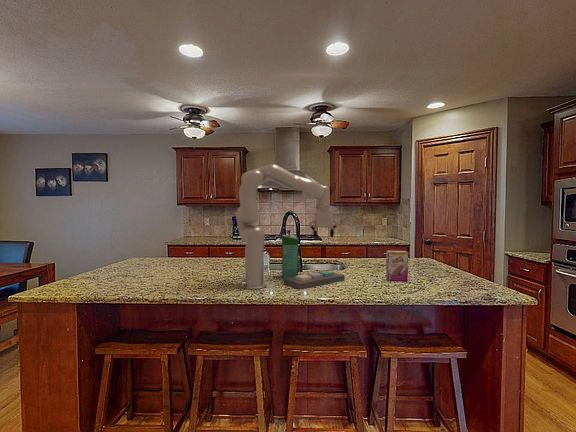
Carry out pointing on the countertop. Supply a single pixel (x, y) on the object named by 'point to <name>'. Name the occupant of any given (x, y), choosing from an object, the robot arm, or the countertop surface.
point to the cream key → (303, 277)
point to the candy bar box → (397, 266)
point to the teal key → (326, 273)
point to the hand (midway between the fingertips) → (323, 237)
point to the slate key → (315, 275)
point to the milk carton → (289, 256)
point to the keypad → (313, 281)
